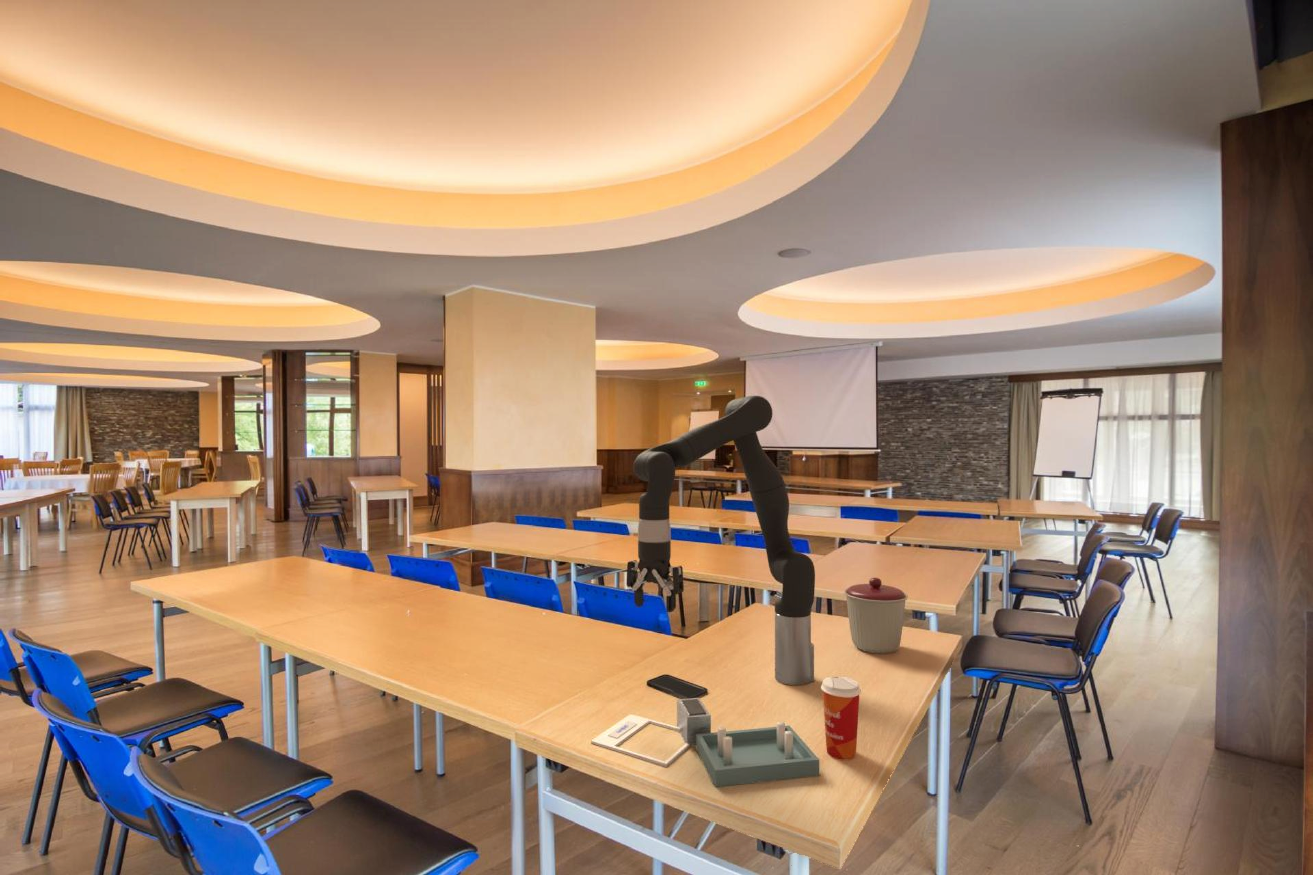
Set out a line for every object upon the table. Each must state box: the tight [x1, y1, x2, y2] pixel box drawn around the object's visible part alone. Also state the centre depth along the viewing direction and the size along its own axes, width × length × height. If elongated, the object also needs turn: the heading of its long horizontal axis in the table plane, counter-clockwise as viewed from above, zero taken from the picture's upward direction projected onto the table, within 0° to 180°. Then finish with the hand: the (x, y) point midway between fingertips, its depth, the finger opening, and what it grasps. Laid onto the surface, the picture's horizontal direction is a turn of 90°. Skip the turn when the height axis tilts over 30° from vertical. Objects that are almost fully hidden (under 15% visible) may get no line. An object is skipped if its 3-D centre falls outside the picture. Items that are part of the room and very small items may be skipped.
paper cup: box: [820, 676, 862, 761], centre depth 124 cm, size 8×8×14 cm
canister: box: [843, 577, 909, 654], centre depth 187 cm, size 18×18×21 cm
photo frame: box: [590, 713, 691, 768], centre depth 130 cm, size 15×1×18 cm
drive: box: [676, 697, 712, 747], centre depth 132 cm, size 9×5×6 cm, turn 11°
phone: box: [646, 674, 709, 699], centre depth 156 cm, size 8×1×15 cm
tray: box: [695, 721, 820, 788], centre depth 121 cm, size 20×14×6 cm
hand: (654, 608), depth 143 cm, fingers open, 8 cm apart
